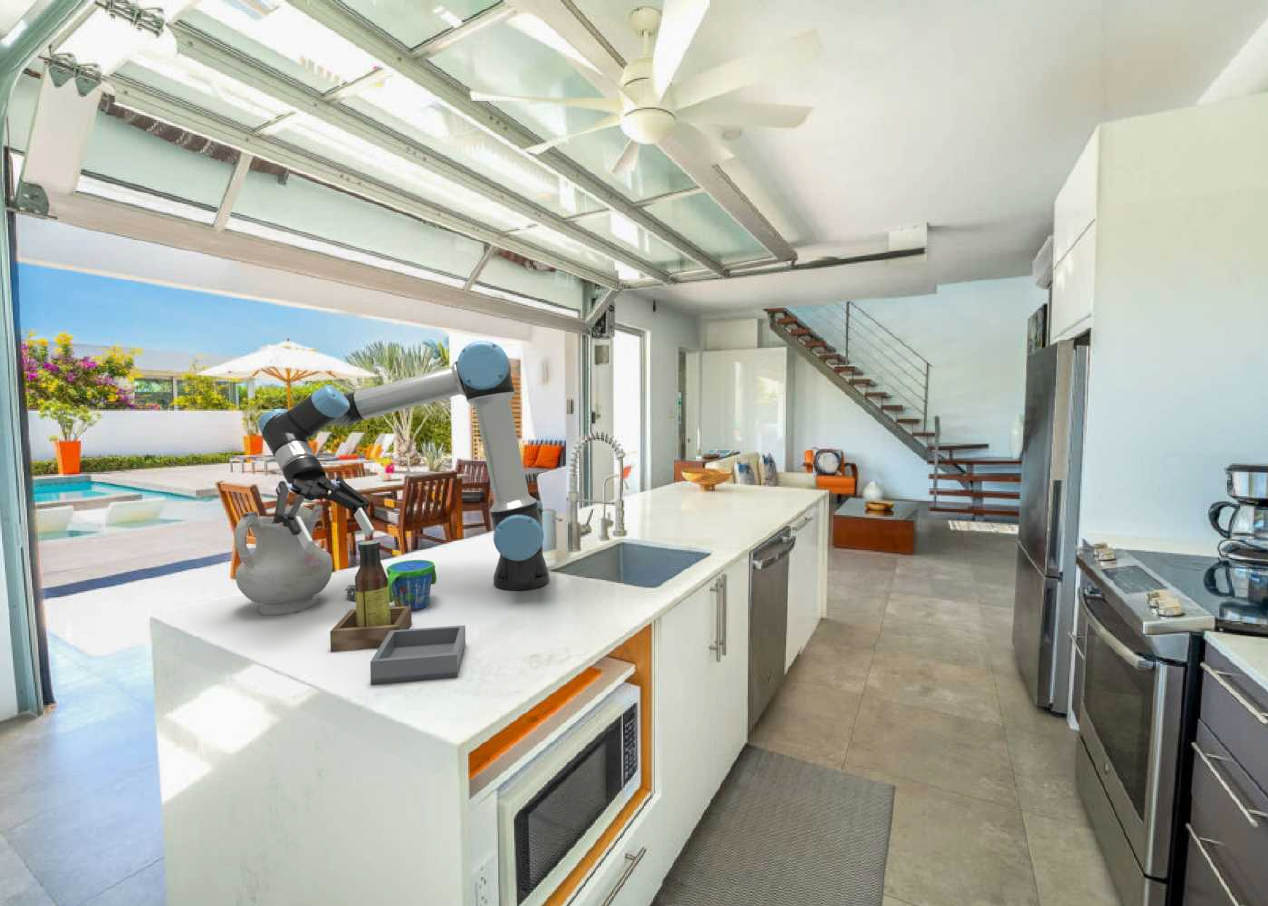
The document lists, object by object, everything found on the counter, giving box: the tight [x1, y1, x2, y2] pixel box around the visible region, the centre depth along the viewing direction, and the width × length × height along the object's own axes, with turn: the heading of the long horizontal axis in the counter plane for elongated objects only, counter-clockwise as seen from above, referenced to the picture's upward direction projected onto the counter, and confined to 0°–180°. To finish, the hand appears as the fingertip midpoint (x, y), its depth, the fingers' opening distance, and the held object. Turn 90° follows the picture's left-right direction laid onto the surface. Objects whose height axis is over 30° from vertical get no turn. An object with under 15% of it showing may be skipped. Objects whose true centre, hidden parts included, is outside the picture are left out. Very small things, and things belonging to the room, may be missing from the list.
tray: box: [369, 624, 467, 686], centre depth 99 cm, size 14×14×4 cm
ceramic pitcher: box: [233, 503, 334, 617], centre depth 127 cm, size 22×20×25 cm
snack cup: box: [386, 559, 438, 612], centre depth 129 cm, size 16×10×10 cm
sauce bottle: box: [354, 539, 391, 627], centre depth 111 cm, size 6×6×20 cm
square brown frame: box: [329, 606, 413, 652], centre depth 111 cm, size 12×12×4 cm
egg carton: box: [344, 584, 392, 603], centre depth 138 cm, size 10×7×4 cm
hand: (341, 539), depth 115 cm, fingers open, 13 cm apart
